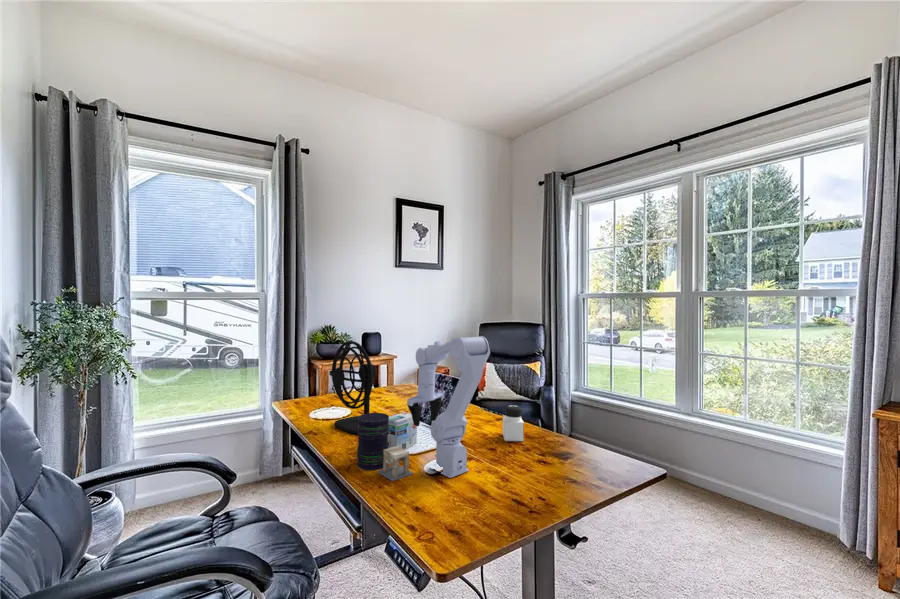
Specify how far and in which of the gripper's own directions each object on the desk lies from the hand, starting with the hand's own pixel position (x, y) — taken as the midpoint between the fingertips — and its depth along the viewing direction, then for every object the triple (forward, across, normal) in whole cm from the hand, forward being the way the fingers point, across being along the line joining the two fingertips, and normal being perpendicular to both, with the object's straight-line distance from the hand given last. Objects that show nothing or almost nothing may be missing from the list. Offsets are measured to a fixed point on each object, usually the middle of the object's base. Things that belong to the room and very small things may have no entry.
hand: (425, 423), depth 139 cm
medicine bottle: (+11, -35, +10) cm, 38 cm away
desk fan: (+12, +3, -39) cm, 41 cm away
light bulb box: (+11, +2, -10) cm, 15 cm away
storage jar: (+11, +18, -4) cm, 21 cm away
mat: (+10, +16, +6) cm, 20 cm away
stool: (+10, +16, +7) cm, 20 cm away
